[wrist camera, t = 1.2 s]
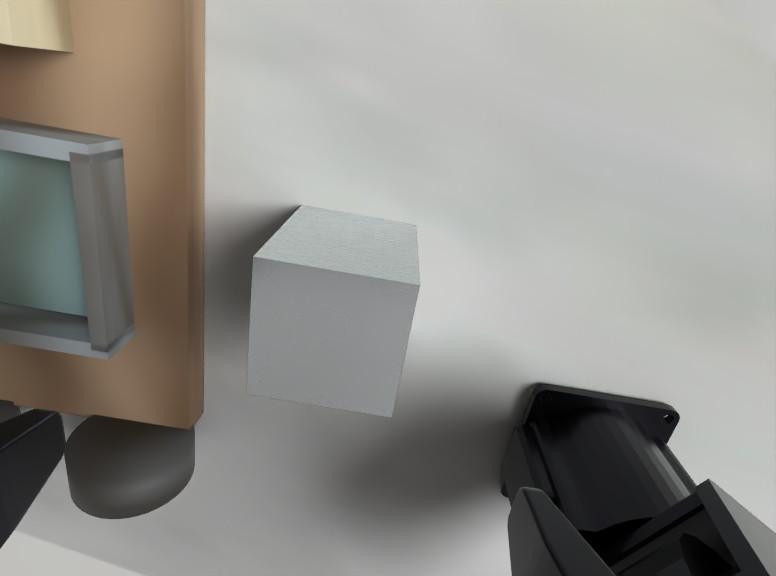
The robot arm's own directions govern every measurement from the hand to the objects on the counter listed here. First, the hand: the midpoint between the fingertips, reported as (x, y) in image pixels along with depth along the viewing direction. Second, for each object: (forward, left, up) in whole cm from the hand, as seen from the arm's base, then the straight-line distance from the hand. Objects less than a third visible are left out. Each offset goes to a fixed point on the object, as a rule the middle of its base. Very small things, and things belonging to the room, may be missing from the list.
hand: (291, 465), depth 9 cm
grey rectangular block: (0, 0, -11) cm, 11 cm away
